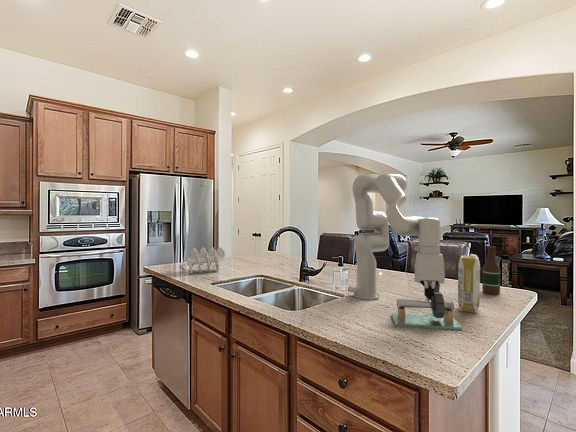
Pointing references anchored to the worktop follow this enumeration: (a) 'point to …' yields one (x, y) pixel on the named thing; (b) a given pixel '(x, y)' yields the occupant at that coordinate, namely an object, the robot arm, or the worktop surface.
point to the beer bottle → (491, 273)
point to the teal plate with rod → (424, 320)
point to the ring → (438, 305)
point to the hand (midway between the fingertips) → (428, 297)
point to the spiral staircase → (206, 258)
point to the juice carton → (469, 283)
